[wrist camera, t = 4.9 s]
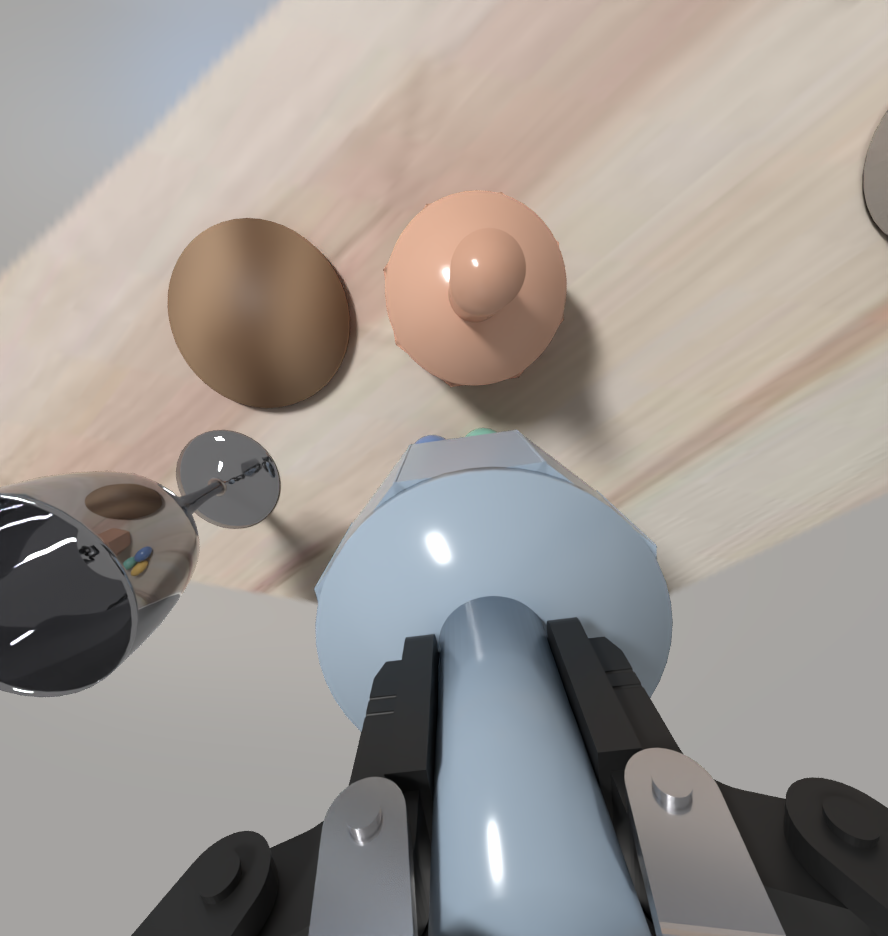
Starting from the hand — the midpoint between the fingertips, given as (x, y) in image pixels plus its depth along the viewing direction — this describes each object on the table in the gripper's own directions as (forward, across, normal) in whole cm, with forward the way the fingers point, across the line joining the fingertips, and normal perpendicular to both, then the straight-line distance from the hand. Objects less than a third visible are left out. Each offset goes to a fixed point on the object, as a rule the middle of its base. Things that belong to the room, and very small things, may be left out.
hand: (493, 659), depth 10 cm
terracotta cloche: (+19, -2, -10) cm, 22 cm away
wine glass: (+19, +16, -1) cm, 25 cm away
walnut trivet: (+19, +11, -11) cm, 25 cm away
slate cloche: (+6, 0, 0) cm, 6 cm away
